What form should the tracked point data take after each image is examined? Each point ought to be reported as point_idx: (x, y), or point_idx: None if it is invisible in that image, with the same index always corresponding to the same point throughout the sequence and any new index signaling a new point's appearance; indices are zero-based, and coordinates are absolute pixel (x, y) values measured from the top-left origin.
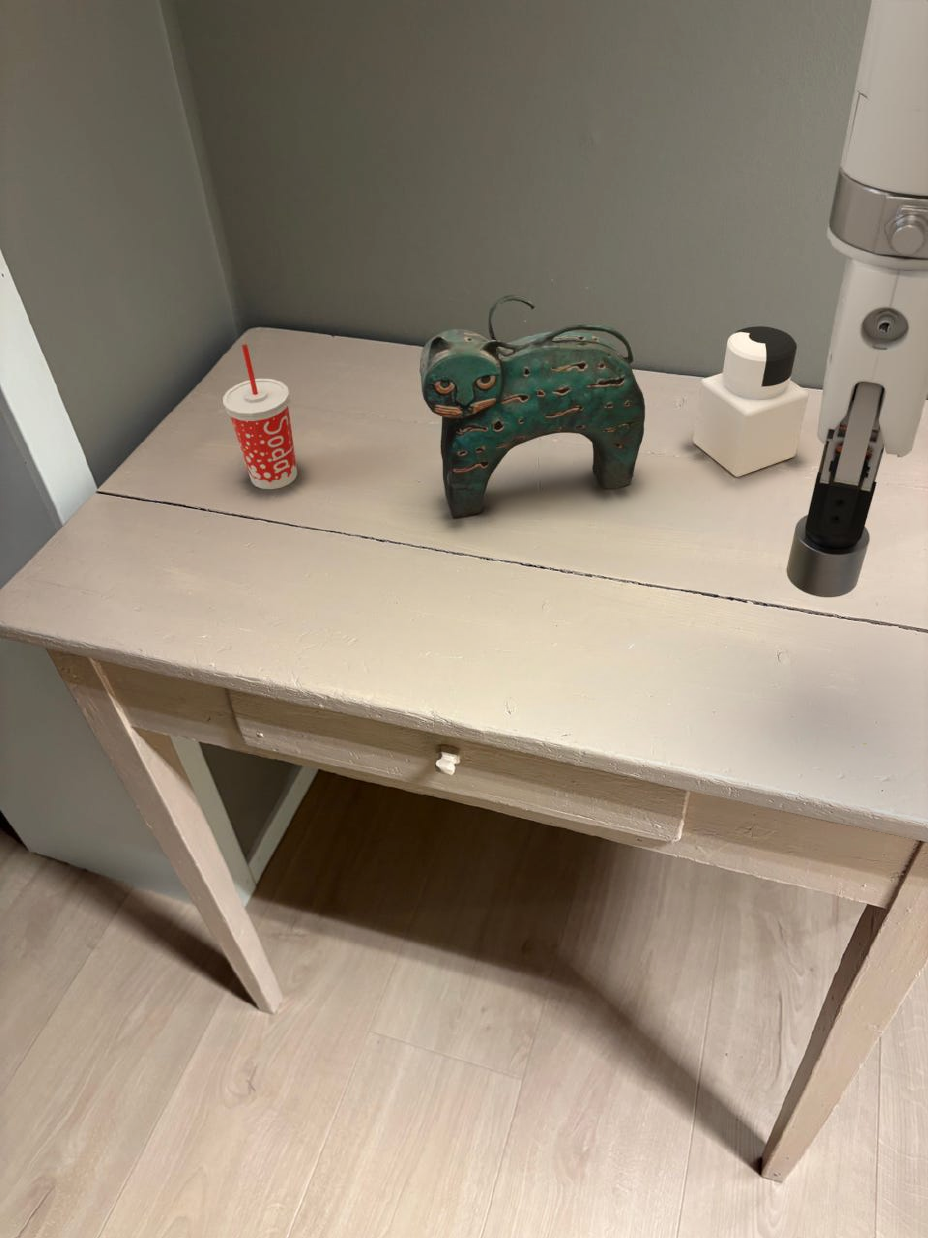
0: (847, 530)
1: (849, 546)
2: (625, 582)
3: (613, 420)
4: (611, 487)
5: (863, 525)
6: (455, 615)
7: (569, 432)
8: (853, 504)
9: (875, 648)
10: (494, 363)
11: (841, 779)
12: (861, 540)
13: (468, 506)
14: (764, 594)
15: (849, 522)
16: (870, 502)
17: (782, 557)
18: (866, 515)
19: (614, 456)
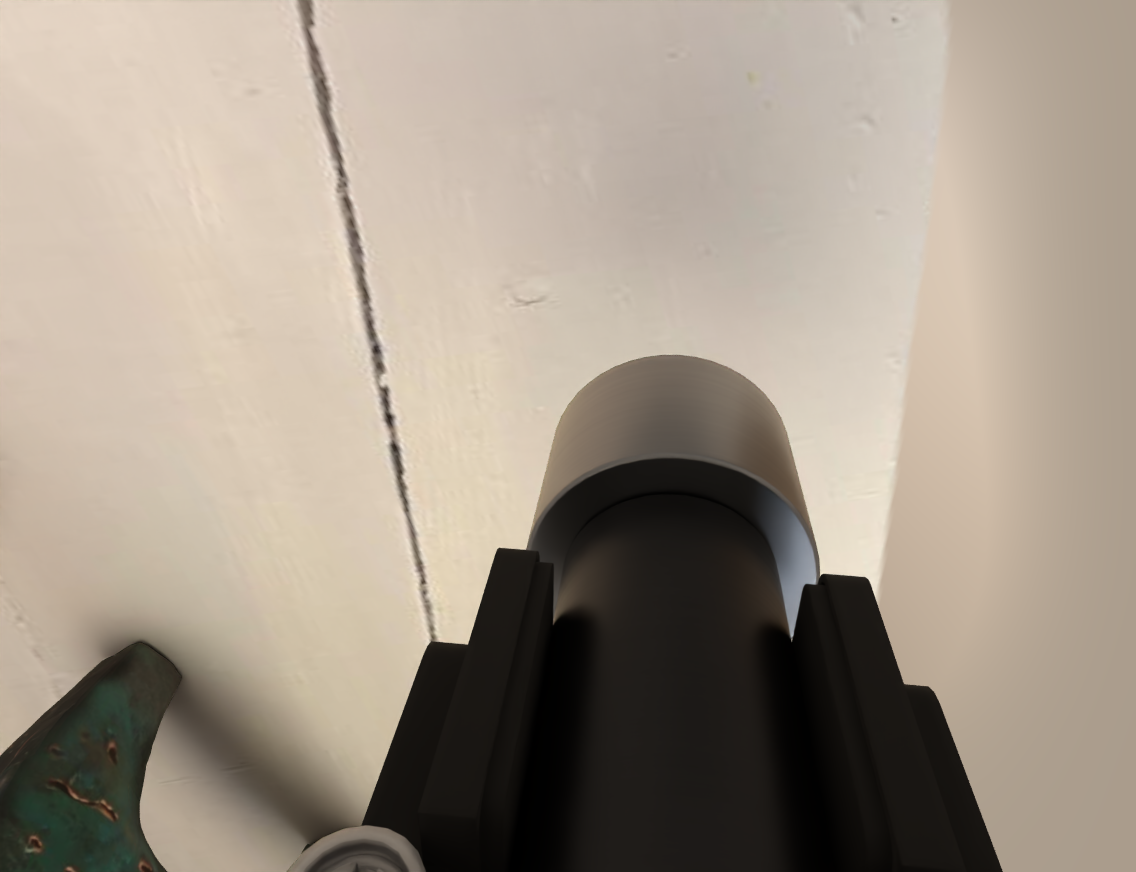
0: (929, 690)
1: (752, 524)
2: (430, 604)
3: (86, 827)
4: (174, 670)
5: (888, 639)
6: None
7: (162, 866)
8: (986, 843)
9: (415, 79)
10: None
11: (876, 121)
12: (694, 482)
13: None
14: (343, 354)
15: (944, 731)
16: (924, 759)
17: (200, 331)
18: (904, 688)
19: (133, 733)
